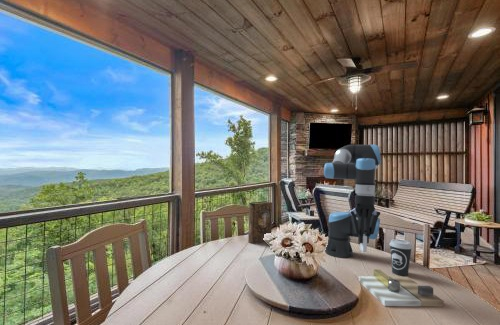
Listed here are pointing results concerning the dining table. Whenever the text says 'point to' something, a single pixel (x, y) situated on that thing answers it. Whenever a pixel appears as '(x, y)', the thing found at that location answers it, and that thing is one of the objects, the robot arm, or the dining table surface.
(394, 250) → the coffee cup
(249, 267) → the dining table surface
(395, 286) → the latch bar
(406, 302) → the door board
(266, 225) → the book
